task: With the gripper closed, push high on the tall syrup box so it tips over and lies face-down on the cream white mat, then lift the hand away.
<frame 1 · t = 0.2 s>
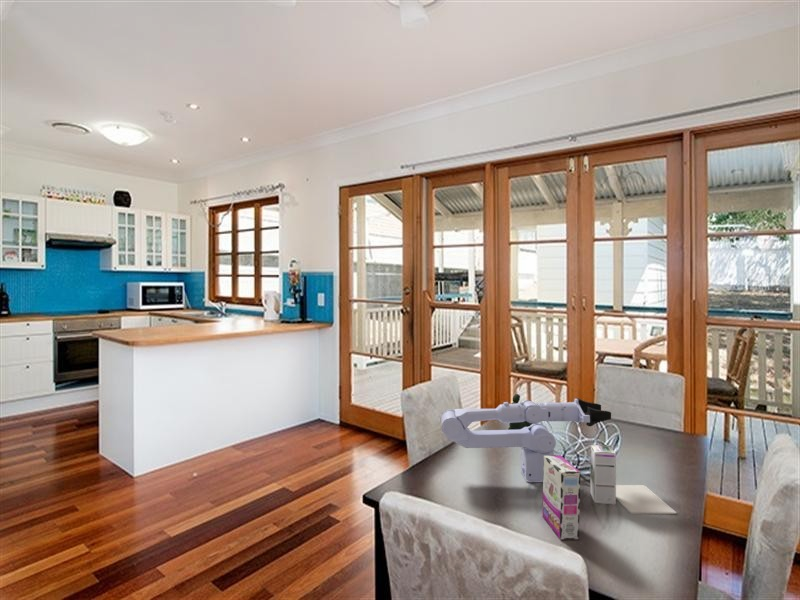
hand: (605, 411, 139), 21 cm above the table, tool horizontal, fingers open, 7 cm apart
candy bar box: (560, 528, 112), on the table
syrup box: (602, 499, 127), on the table
dark green lumpy piece: (520, 434, 182), on the table
cream white mat: (638, 499, 127), on the table
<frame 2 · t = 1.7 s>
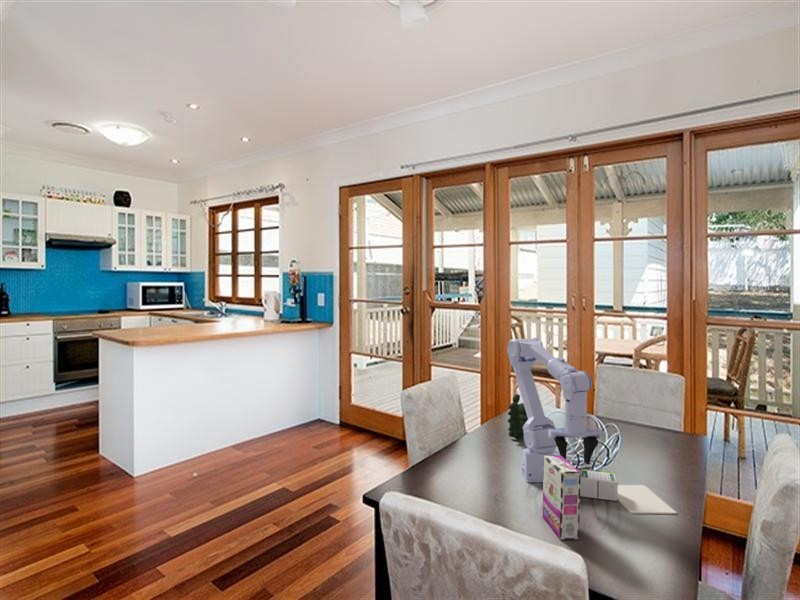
hand: (575, 462, 126), 10 cm above the table, tool pointing down, fingers open, 6 cm apart
syrup box: (617, 487, 128), point 3 cm above the table
everything else where it was.
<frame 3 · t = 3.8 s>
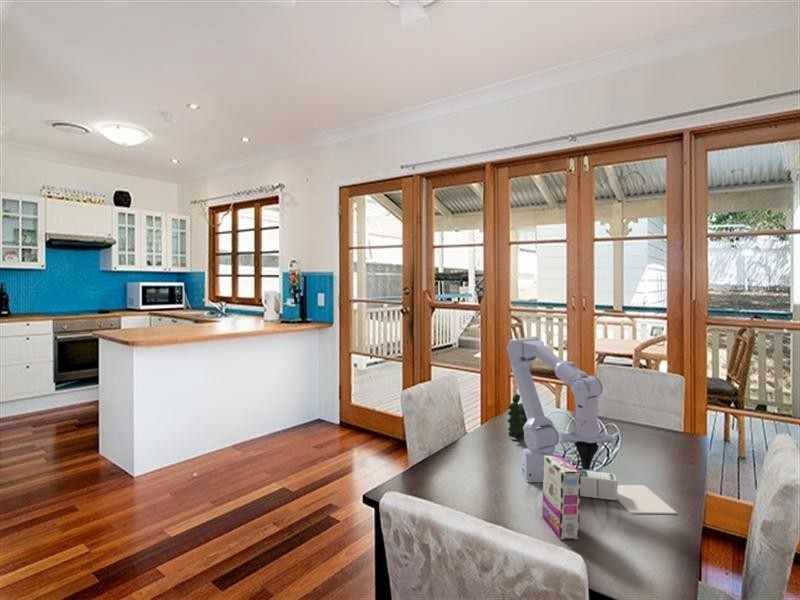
hand: (585, 467, 127), 9 cm above the table, tool pointing down, fingers closed
syrup box: (617, 486, 128), point 3 cm above the table, touching cream white mat
everything else where it was.
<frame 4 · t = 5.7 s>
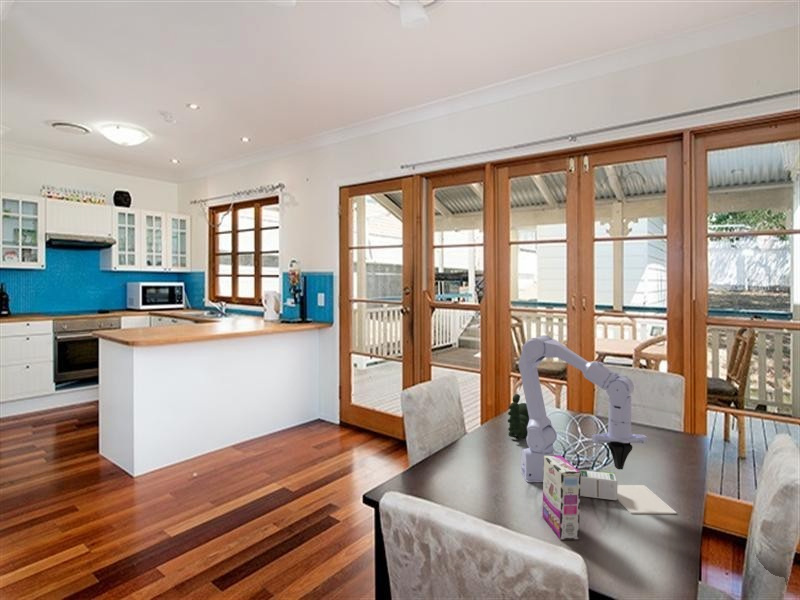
hand: (618, 468, 127), 9 cm above the table, tool pointing down, fingers closed
nothing on the table moved.
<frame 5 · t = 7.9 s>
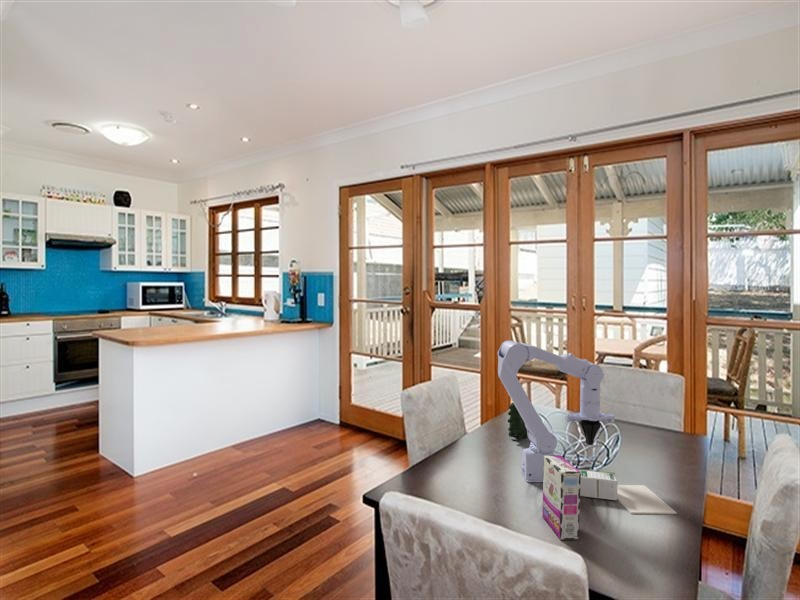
hand: (589, 443, 141), 10 cm above the table, tool pointing down, fingers closed
nothing on the table moved.
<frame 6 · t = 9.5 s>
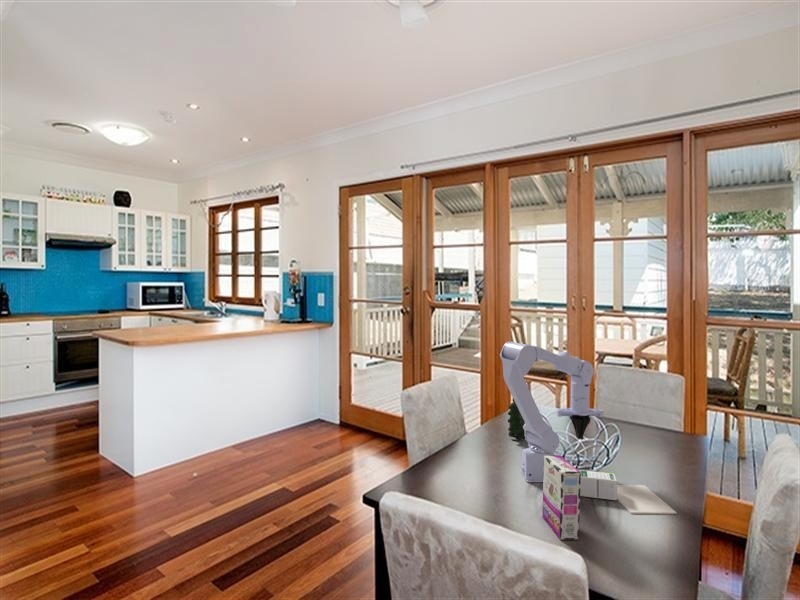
hand: (579, 437, 147), 10 cm above the table, tool pointing down, fingers closed
nothing on the table moved.
at the end: syrup box tilted 91°; syrup box inside the target area (0.8 cm from its centre), point 3.1 cm above the table; syrup box touching cream white mat, table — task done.
